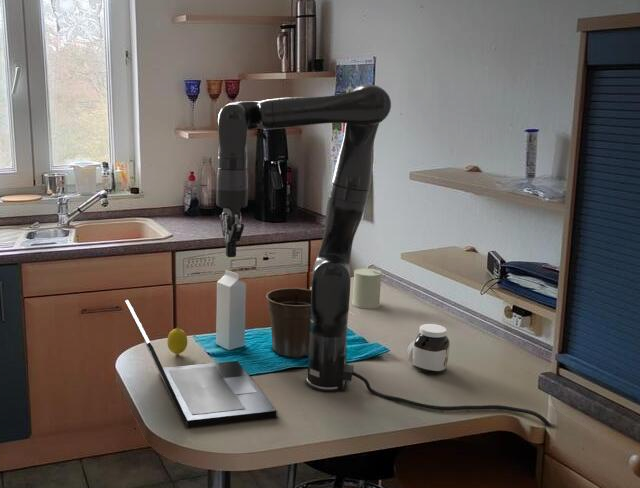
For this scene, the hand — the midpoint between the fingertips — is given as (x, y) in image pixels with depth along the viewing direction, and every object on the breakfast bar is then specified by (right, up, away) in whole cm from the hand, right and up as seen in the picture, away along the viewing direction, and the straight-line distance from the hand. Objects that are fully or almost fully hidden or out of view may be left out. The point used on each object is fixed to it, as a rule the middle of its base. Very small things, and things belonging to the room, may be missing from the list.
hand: (230, 256), depth 181 cm
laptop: (-4, -34, -1) cm, 34 cm away
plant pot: (+19, -28, +28) cm, 44 cm away
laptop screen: (-18, -23, -7) cm, 30 cm away
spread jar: (+53, -30, +18) cm, 64 cm away
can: (+49, -18, +69) cm, 87 cm away
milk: (+1, -27, +32) cm, 41 cm away
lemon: (-14, -28, +24) cm, 40 cm away
